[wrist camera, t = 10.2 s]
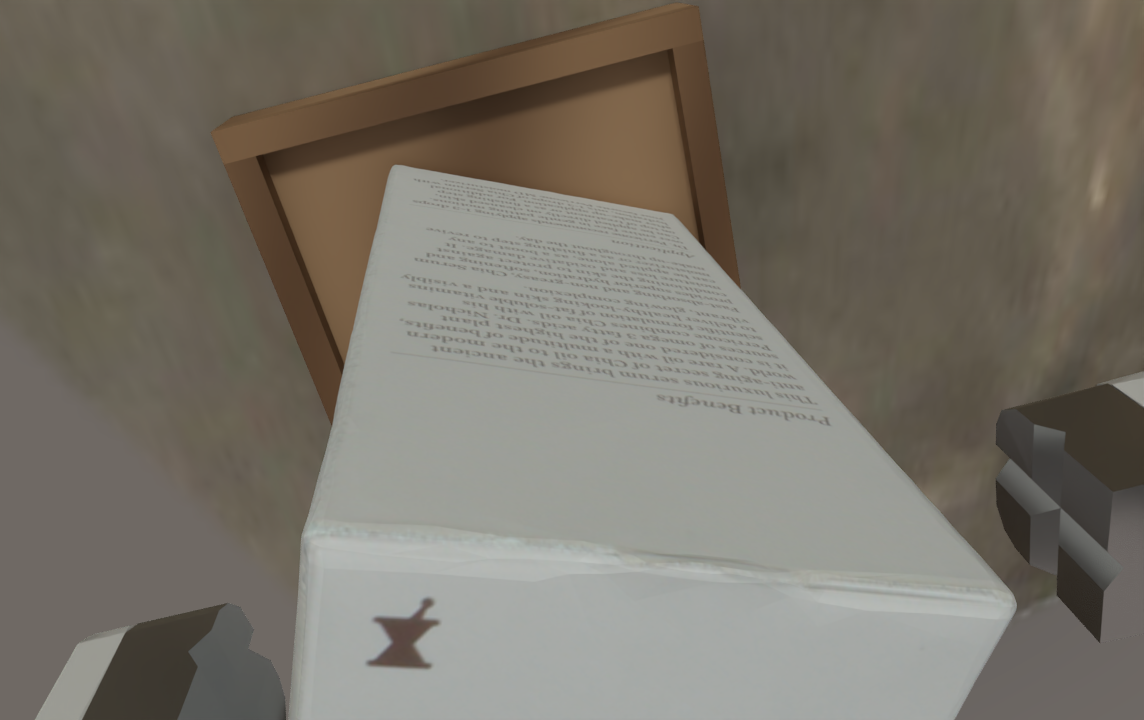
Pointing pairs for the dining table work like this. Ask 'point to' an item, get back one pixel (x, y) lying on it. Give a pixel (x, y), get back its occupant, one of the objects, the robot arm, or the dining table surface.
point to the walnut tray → (478, 154)
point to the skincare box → (608, 493)
